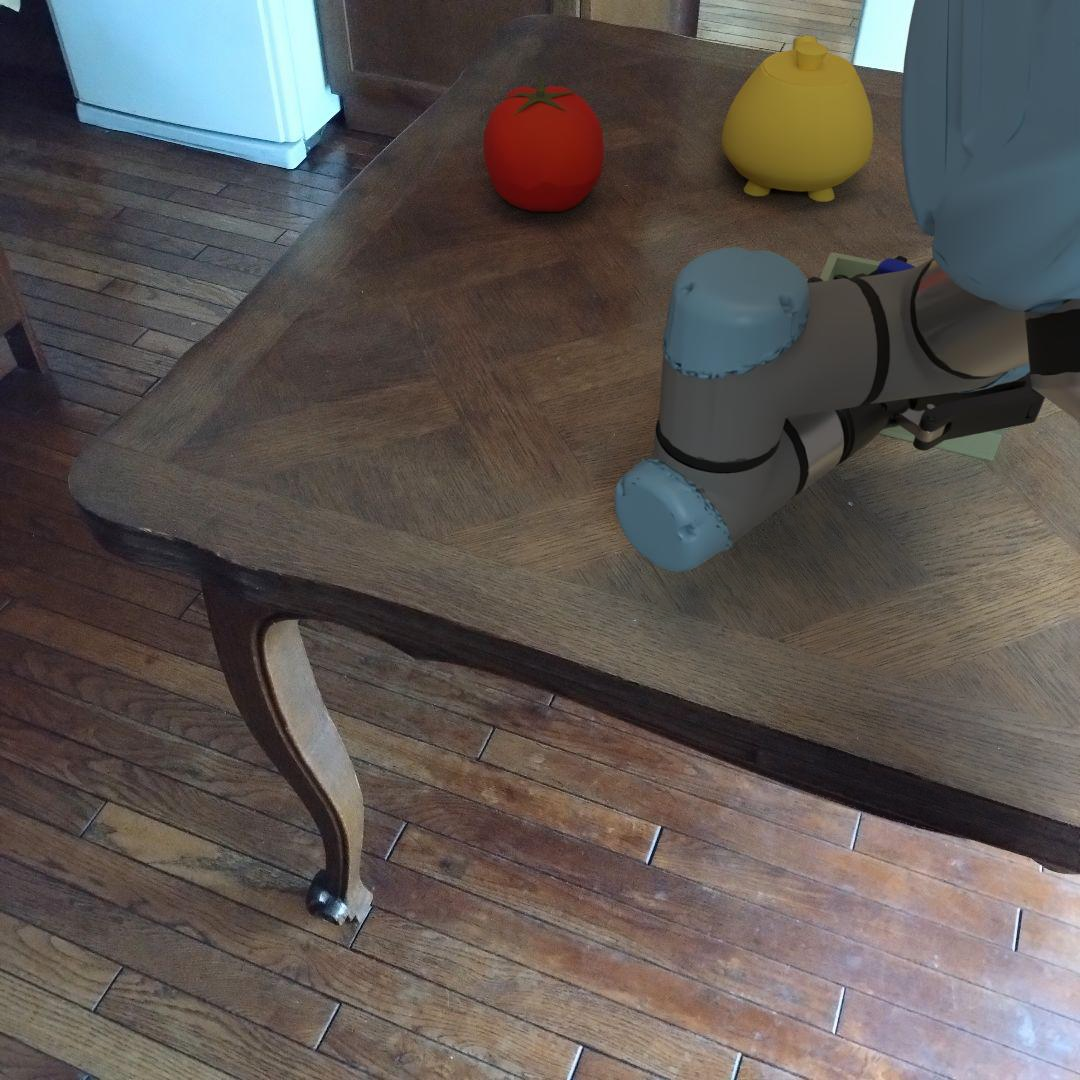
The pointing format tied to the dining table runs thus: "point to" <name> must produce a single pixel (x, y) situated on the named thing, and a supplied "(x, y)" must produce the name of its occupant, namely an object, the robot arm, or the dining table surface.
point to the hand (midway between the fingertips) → (974, 305)
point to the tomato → (543, 148)
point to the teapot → (799, 123)
